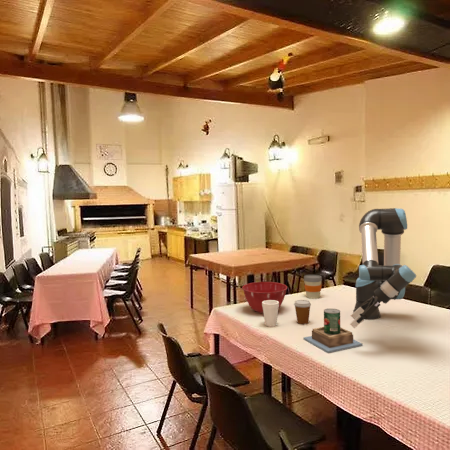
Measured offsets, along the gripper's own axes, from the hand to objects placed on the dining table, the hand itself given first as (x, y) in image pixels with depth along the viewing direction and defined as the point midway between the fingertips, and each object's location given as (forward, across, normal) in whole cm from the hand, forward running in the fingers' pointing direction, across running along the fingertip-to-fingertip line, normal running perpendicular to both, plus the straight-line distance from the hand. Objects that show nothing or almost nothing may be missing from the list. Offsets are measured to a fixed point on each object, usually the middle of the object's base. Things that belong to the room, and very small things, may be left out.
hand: (352, 321), depth 193 cm
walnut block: (+15, 0, -1) cm, 15 cm away
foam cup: (+39, +20, +24) cm, 50 cm away
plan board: (+15, 0, -1) cm, 15 cm away
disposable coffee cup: (+28, +28, +12) cm, 41 cm away
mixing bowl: (+46, +47, +30) cm, 73 cm away
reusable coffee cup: (+28, +86, +12) cm, 91 cm away
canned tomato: (+11, 0, +2) cm, 11 cm away
